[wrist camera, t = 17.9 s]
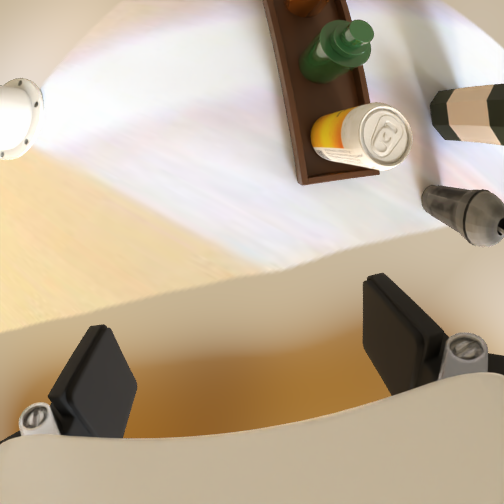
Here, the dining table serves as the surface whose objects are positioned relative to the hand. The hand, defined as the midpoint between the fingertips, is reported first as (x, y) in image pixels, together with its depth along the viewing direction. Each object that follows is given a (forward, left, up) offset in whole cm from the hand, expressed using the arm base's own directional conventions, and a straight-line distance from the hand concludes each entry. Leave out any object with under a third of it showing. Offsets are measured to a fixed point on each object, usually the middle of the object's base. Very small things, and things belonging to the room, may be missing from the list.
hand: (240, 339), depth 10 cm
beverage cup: (+30, -5, -31) cm, 43 cm away
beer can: (+14, +5, -30) cm, 33 cm away
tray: (+14, +15, -30) cm, 37 cm away
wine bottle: (+35, +8, -31) cm, 47 cm away
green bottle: (+14, +15, -30) cm, 36 cm away
